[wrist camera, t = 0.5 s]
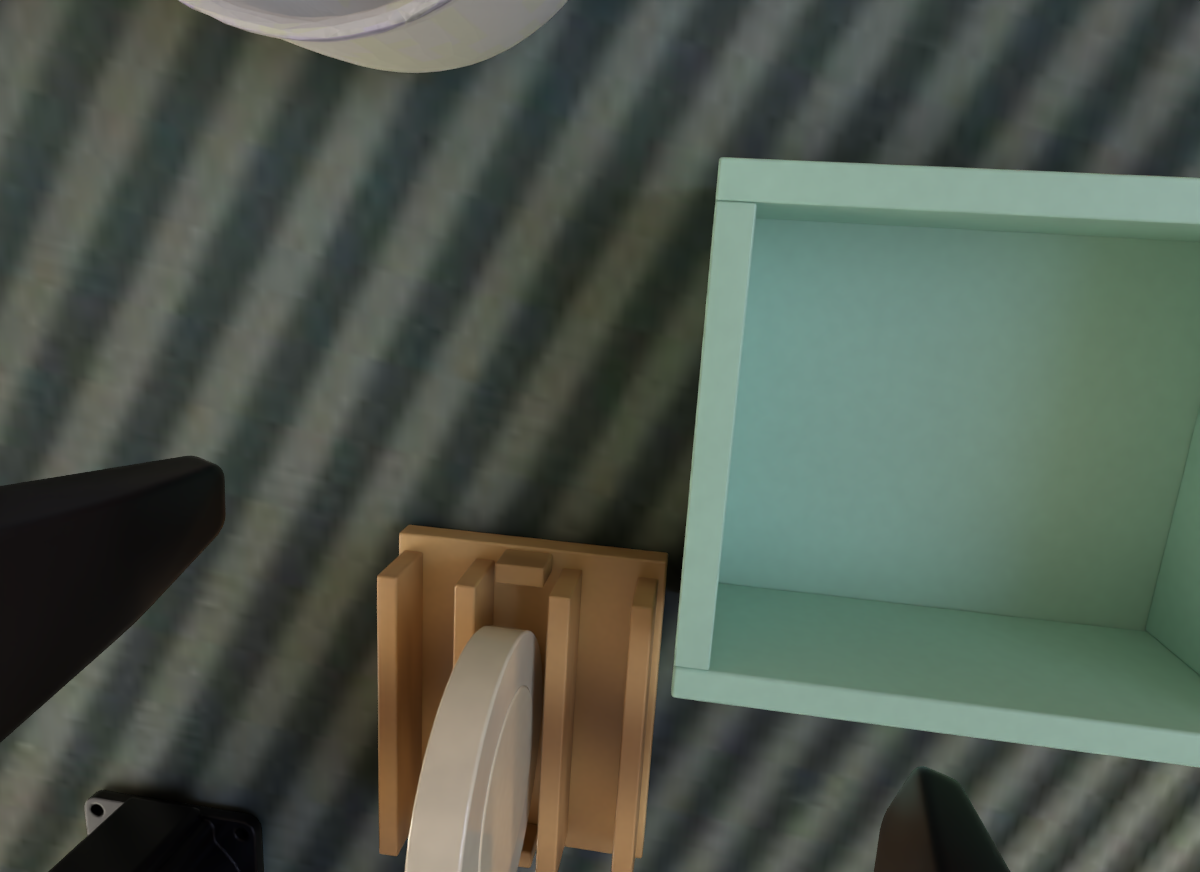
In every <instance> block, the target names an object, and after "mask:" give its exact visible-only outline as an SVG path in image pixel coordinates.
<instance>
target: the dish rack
mask: <svg viewBox="0 0 1200 872" xmlns="http://www.w3.org/2000/svg"><path fill="white" fill-rule="evenodd" d="M667 566H668V553H663V552H654V551H645V550H636V549H627V548H618V547H609V546H599V545H590V544H581V543H572V542H563V541H554V540H545V539H535V538H526V537H517V536H508V535H499V534H490V533H481V532H472V531H462V530H453V529H444V528H435V527H426V526H417V525H408V526H407V527H406V528H405V529H403V530H402V531H401V532H400V534H399V556H398V557H397V558H396V559H395V560H394V561H393V562H392V563H391V564H389V565H388V566H387V567H386V568H385V569H384V570H383V571H382V572H381V573H380V574H379V575H378V576H377V637H378V758H379V853H380V854H385V855H391V856H397V855H398V854H399V852H400V850H401V848H402V846H403V844H404V842H405V840H406V839H407V837H408V835H409V830H410V824H411V818H412V811H413V806H414V801H415V796H416V791H417V785H418V781H419V777H420V772H421V768H422V763H423V759H424V755H425V751H426V748H427V744H428V740H429V736H430V733H431V729H432V726H433V723H434V720H435V716H436V713H437V710H438V707H439V704H440V701H441V699H442V696H443V693H444V690H445V688H446V685H447V683H448V680H449V678H450V675H451V673H452V671H453V668H454V666H455V664H456V662H457V660H458V658H459V656H460V654H461V652H462V651H463V649H464V647H465V645H466V644H467V642H468V641H469V639H470V638H471V637H472V635H473V634H474V633H475V632H476V631H477V630H478V629H479V628H481V627H483V626H485V625H497V626H505V627H513V628H521V629H529V630H530V631H532V632H533V633H534V634H535V636H536V637H537V640H538V643H539V648H540V653H541V662H542V712H541V726H540V738H539V747H538V756H537V764H536V772H535V779H534V786H533V792H532V798H531V805H530V810H529V816H528V821H527V827H526V832H525V837H524V842H523V847H522V851H521V856H520V860H519V865H518V866H519V867H525V868H530V867H531V864H532V861H533V858H534V854H535V851H536V848H537V852H536V872H558V868H559V864H560V860H561V857H562V853H563V849H564V846H567V847H573V848H579V849H585V850H591V851H598V852H604V853H610V854H612V866H611V872H633V869H634V861H635V858H641V857H642V854H643V845H644V835H645V823H646V812H647V800H648V788H649V776H650V765H651V753H652V741H653V730H654V718H655V706H656V695H657V683H658V671H659V660H660V648H661V636H662V624H663V613H664V601H665V589H666V578H667Z"/></svg>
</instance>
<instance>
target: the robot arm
mask: <svg viewBox="0 0 1200 872" xmlns="http://www.w3.org/2000/svg"><path fill="white" fill-rule="evenodd" d="M224 521H225V481H224V473H223V471H222V469H221V468H220V467H219V466H218V465H216V464H213V463H211V462H209V461H206V460H204V459H201V458H199V457H196V456H183V457H177V458H171V459H165V460H159V461H152V462H146V463H140V464H134V465H128V466H122V467H115V468H109V469H103V470H97V471H91V472H85V473H78V474H72V475H66V476H60V477H54V478H48V479H41V480H35V481H29V482H23V483H17V484H11V485H4V486H0V742H2V741H3V740H4V739H5V738H6V737H7V736H8V735H9V734H11V733H12V732H13V731H14V730H15V729H16V728H17V727H18V726H20V725H21V724H22V723H23V722H24V721H25V720H26V719H27V718H29V717H30V716H31V715H32V714H33V713H34V712H35V711H36V710H38V709H39V708H40V707H41V706H42V705H43V704H44V703H46V702H47V701H48V700H49V699H50V698H51V697H52V696H53V695H55V694H56V693H57V692H58V691H59V690H60V689H61V688H62V687H64V686H65V685H66V684H67V683H68V682H69V681H70V680H71V679H73V678H74V677H75V676H76V675H77V674H78V673H79V672H80V671H82V670H83V669H84V668H85V667H86V666H87V665H88V664H89V663H91V662H92V661H93V660H94V659H95V658H96V657H97V656H99V655H100V654H101V653H102V652H103V651H104V650H105V649H106V648H108V647H109V646H110V645H111V644H112V643H113V642H114V641H115V640H117V639H118V638H119V637H120V636H121V635H122V634H123V633H124V632H125V631H126V630H127V629H129V628H130V627H131V626H132V625H133V624H134V623H135V622H136V621H137V620H138V619H139V618H140V617H141V616H142V615H143V614H144V613H145V612H146V611H147V610H148V609H149V608H150V607H151V606H152V605H153V604H154V603H155V601H156V600H157V599H158V598H159V597H160V596H161V595H162V594H163V593H164V592H165V591H166V590H167V589H168V588H169V587H170V585H171V584H172V583H173V582H174V581H175V580H176V579H177V578H178V577H179V576H180V575H181V574H182V573H183V572H184V570H185V569H186V568H187V567H188V566H189V565H190V564H191V563H192V562H193V561H194V560H195V559H196V558H197V557H198V555H199V554H200V553H201V552H202V551H203V550H204V549H205V548H206V547H207V546H208V545H209V544H210V543H211V542H212V540H213V539H214V538H215V537H216V536H217V535H218V534H219V532H220V530H221V529H222V527H223V524H224ZM84 809H85V818H86V827H87V837H86V838H85V839H84V840H83V841H81V842H80V843H79V844H78V845H77V846H76V847H75V848H74V849H73V850H72V851H71V852H69V853H68V854H67V855H66V856H65V857H64V858H63V859H62V860H61V861H60V862H59V863H57V864H56V865H55V866H54V867H53V868H52V869H51V870H50V871H49V872H264V863H263V843H262V827H261V823H260V822H259V821H258V819H257V818H255V817H254V816H253V815H250V814H246V813H240V812H234V811H228V810H221V809H215V808H209V807H203V806H197V805H191V804H185V803H179V802H173V801H167V800H161V799H154V798H148V797H142V796H136V795H130V794H124V793H118V792H112V791H106V790H100V791H98V792H96V793H95V794H94V795H92V796H91V797H90V798H89V799H88V800H87V801H86V803H85V807H84ZM244 829H245V830H246V831H245V830H244ZM874 872H1010V870H1009V869H1008V867H1007V865H1006V863H1005V861H1004V860H1003V858H1002V856H1001V854H1000V853H999V851H998V849H997V847H996V846H995V844H994V842H993V840H992V839H991V837H990V835H989V833H988V832H987V830H986V828H985V826H984V825H983V823H982V821H981V819H980V818H979V816H978V814H977V812H976V811H975V809H974V807H973V805H972V803H971V802H970V800H969V798H968V796H967V795H966V793H965V791H964V789H963V788H962V786H961V785H960V784H959V783H958V782H957V781H956V780H954V779H953V778H950V777H948V776H946V775H943V774H941V773H939V772H936V771H934V770H932V769H929V768H927V767H917V768H916V769H915V770H913V771H912V773H911V774H910V776H909V777H908V779H907V780H906V782H905V783H904V785H903V786H902V788H901V789H900V791H899V792H898V794H897V795H896V797H895V798H894V800H893V801H892V803H891V805H890V806H889V808H888V809H887V811H886V813H885V815H884V818H883V821H882V824H881V828H880V834H879V841H878V848H877V855H876V861H875V868H874Z"/></svg>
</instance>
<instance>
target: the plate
mask: <svg viewBox="0 0 1200 872" xmlns="http://www.w3.org/2000/svg"><path fill="white" fill-rule="evenodd" d="M541 712H542V662H541V653H540V648H539V643H538V640H537V637H536V636H535V634H534V633H533V632H532V631H530V630H529V629H521V628H513V627H505V626H497V625H485V626H483V627H481V628H479V629H478V630H477V631H476V632H475V633H474V634H473V635H472V637H471V638H470V639H469V641H468V642H467V644H466V645H465V647H464V649H463V651H462V652H461V654H460V656H459V658H458V660H457V662H456V664H455V666H454V668H453V671H452V673H451V675H450V678H449V680H448V683H447V685H446V688H445V690H444V693H443V696H442V699H441V701H440V704H439V707H438V710H437V713H436V716H435V720H434V723H433V726H432V729H431V733H430V736H429V740H428V744H427V748H426V751H425V755H424V759H423V763H422V768H421V772H420V777H419V781H418V785H417V791H416V796H415V801H414V806H413V811H412V818H411V824H410V830H409V836H408V844H407V852H406V861H405V872H517V869H518V865H519V860H520V856H521V851H522V847H523V842H524V837H525V832H526V827H527V821H528V816H529V810H530V805H531V798H532V792H533V786H534V779H535V772H536V764H537V756H538V747H539V738H540V726H541Z"/></svg>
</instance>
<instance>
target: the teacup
mask: <svg viewBox="0 0 1200 872" xmlns="http://www.w3.org/2000/svg"><path fill="white" fill-rule="evenodd" d="M178 1H180V2H182V3H183V4H185V5H187V6H188V7H190V8H192V9H194V10H197V11H199V12H202V13H204V14H207V15H210V16H212V17H213V18H215V19H217V20H219V21H221V22H223V23H225V24H228V25H231V26H234V27H237V28H239V29H242V30H245V31H248V32H252V33H256V34H261V35H265V36H269V37H273V38H280V39H282V40H285V41H287V42H290V43H293V44H295V45H298V46H300V47H303V48H306V49H309V50H311V51H314V52H317V53H320V54H323V55H326V56H329V57H333V58H336V59H339V60H342V61H346V62H349V63H353V64H356V65H360V66H364V67H369V68H373V69H378V70H385V71H393V72H405V73H423V72H438V71H444V70H450V69H455V68H460V67H465V66H469V65H473V64H475V63H478V62H481V61H484V60H486V59H489V58H491V57H493V56H495V55H498V54H500V53H502V52H504V51H506V50H508V49H510V48H512V47H513V46H515V45H516V44H518V43H519V42H521V41H522V40H524V39H525V38H527V37H529V36H530V35H531V34H532V33H534V32H535V31H536V30H538V29H539V28H540V27H541V26H543V25H544V24H545V23H546V22H547V21H549V20H550V19H551V18H552V17H553V16H554V15H555V14H556V13H557V12H558V11H559V10H560V9H561V8H562V7H563V6H564V4H565V3H566V2H567V1H568V0H178Z"/></svg>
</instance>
